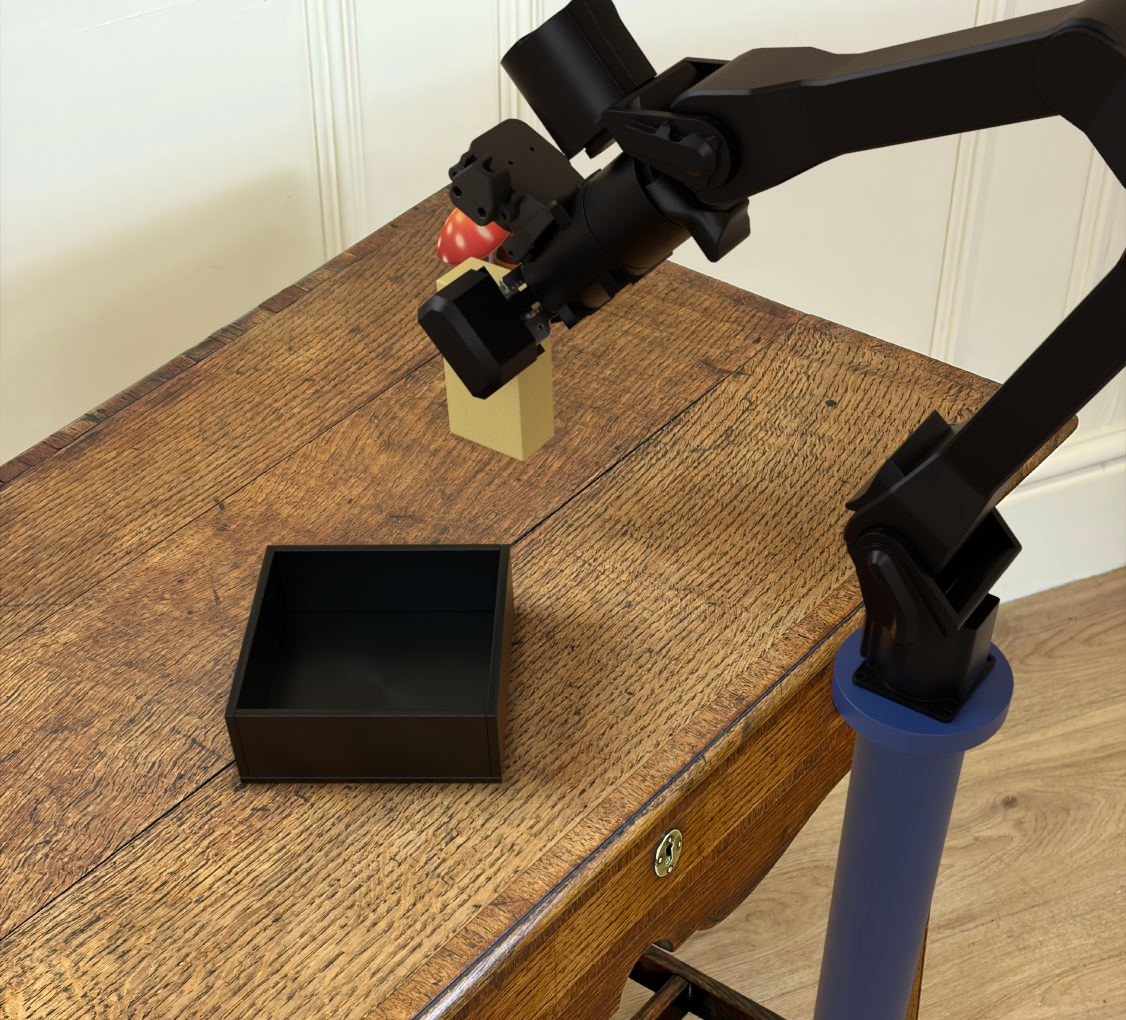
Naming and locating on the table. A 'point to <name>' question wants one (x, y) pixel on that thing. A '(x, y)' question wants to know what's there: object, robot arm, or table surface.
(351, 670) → the bin
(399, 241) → the table surface
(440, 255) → the figurine
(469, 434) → the block
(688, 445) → the table surface
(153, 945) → the table surface
